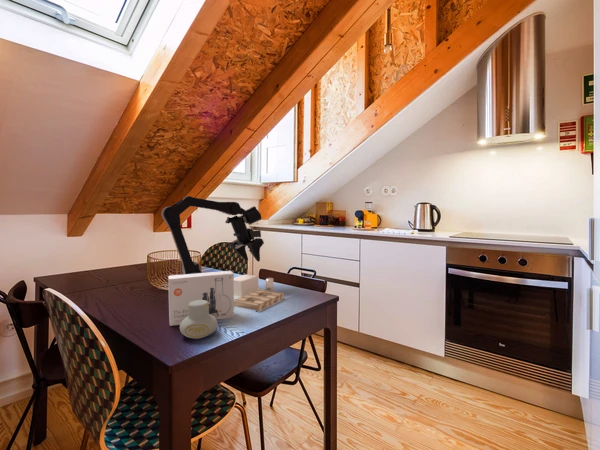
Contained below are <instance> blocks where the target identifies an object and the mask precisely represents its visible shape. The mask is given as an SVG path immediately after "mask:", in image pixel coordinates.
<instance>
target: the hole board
mask: <svg viewBox="0 0 600 450" xmlns="http://www.w3.org/2000/svg"><path fill="white" fill-rule="evenodd" d="M284 296H285V293H283V292H279V291H278V292H277V291H273V292H272V291H266V289H265V290H258V291H255V292H253V293H250V294H248V295H245V296H243V297H240V298H235V299H234V307H237V308H243V309H247V310H252V311H255V313H259V312H260V311H263V310H265V309H267V308H268V307H270V306H273V305H274V304H277V303H279V302H281V301H283V300H284Z"/></svg>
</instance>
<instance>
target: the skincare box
mask: <svg viewBox="0 0 600 450" xmlns="http://www.w3.org/2000/svg"><path fill="white" fill-rule="evenodd" d="M234 275H235V274H234V272H233V271H232V270H224V271H223V270H221V271H210V272H209V271H208V272H202V273H196V274H183V273H182V274H173V275H168V276H167V277H168V319H169V320H168V321H169V326H170V327H171V326H173V327H174V326H180V324H181V322H182V321H183V320H184V319H185V318H186V317H188V304H189V303H190V302H192V301H196V300H206V301H208V303H209V314H210V315H212V316H214V317H215V318H216V319H217V320H222V319H223V320H224V319H230V318H234V317H235V309H234V307H235V306H234V300H235V299H234V298H235V297H234V278H235V277H234Z"/></svg>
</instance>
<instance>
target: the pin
mask: <svg viewBox="0 0 600 450" xmlns="http://www.w3.org/2000/svg"><path fill="white" fill-rule="evenodd" d="M265 290H266V291H272V292H274V278H273V277H266V278H265Z"/></svg>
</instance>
